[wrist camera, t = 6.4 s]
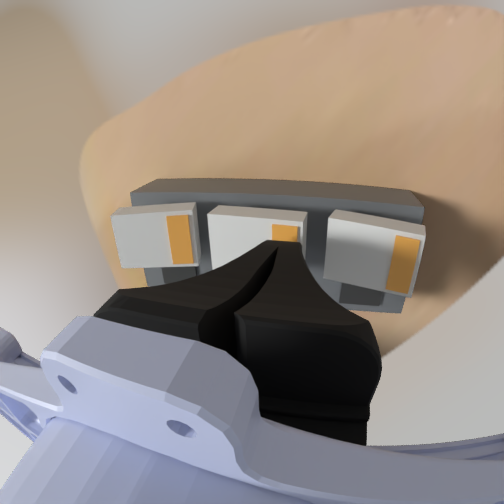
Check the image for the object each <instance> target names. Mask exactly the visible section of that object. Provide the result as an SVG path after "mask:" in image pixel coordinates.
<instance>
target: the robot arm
mask: <svg viewBox="0 0 504 504" xmlns="http://www.w3.org/2000/svg"><path fill="white" fill-rule="evenodd" d="M381 371H382V362H381V355H380V351H379V347H378V344H377V340H376V337H375V334H374V332H373V329H372V326H371V324H370V322H369V321H368V320H366V319H364V318H362V317H360V316H358V315H356V314H354V313H352V312H350V311H349V310H347V309H346V308H344V307H343V306H341V305H340V304H338V303H337V302H336V301H335V300H333V299H332V298H331V297H330V296H329V295H328V294H327V293H326V292H325V291H324V290H323V289H322V288H321V287H320V285H319V284H318V283H317V281H316V280H315V278H314V277H313V275H312V273H311V272H310V270H309V268H308V266H307V264H306V261H305V259H304V256H303V253H302V245H301V243H300V242H291V241H278V240H266V241H264V242H262V243H260V244H259V245H257V246H256V247H254V248H253V249H251V250H249V251H248V252H246V253H244V254H243V255H241V256H239V257H238V258H236V259H234V260H232V261H230V262H228V263H226V264H225V265H223V266H220V267H218V268H216V269H214V270H211V271H209V272H206V273H204V274H201V275H198V276H194V277H191V278H188V279H184V280H181V281H177V282H173V283H168V284H163V285H157V286H151V287H142V288H131V289H119V290H118V291H117V292H116V293H115V294H114V295H113V296H112V297H111V298H110V299H109V300H108V301H107V302H106V303H105V304H104V305H103V306H102V307H101V308H100V309H99V310H98V311H97V312H96V313H95V314H94V316H78V317H76V318H75V319H73V320H72V321H71V322H70V323H69V324H68V325H67V326H66V327H65V328H64V329H63V330H62V331H61V332H60V333H59V334H58V336H56V337H55V338H54V340H53V341H52V342H51V343H50V344H49V345H48V346H47V347H46V348H45V349H44V350H43V352H42V355H41V357H40V361H38V360H37V359H35V358H33V357H31V356H29V355H27V354H26V353H24V352H22V349H21V347H20V345H19V343H18V341H17V340H16V338H15V337H14V336H13V335H12V334H11V333H10V332H8V331H6V330H4V329H3V328H1V327H0V414H1V415H3V416H4V417H5V418H6V419H7V420H8V421H9V422H11V423H12V424H13V425H14V426H15V427H16V428H18V429H19V430H20V431H21V432H22V433H23V434H24V435H26V436H27V437H28V438H29V439H31V440H32V441H33V442H34V443H33V444H32V446H31V447H30V448H29V450H28V451H27V452H26V454H25V455H24V456H23V458H22V459H21V461H20V462H19V464H18V465H17V466H16V468H15V469H14V471H13V472H12V474H11V475H10V476H9V478H8V479H7V481H6V482H5V484H4V485H3V487H2V489H1V490H0V504H504V433H503V434H498V435H493V436H488V437H483V438H476V439H470V440H462V441H454V442H445V443H436V444H424V445H423V444H422V445H404V446H403V445H401V446H366V440H367V421H368V420H369V416H370V402H371V400H372V397H373V395H374V393H375V390H376V388H377V385H378V383H379V380H380V377H381Z"/></svg>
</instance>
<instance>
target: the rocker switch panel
mask: <svg viewBox="0 0 504 504" xmlns="http://www.w3.org/2000/svg"><path fill="white" fill-rule="evenodd" d="M130 196H131V202H132V207H133V206H145V205H159V204H173V203H188V202H196V207H197V217H198V227H199V237H200V246H201V258H200V262H199V266H187V267H152V268H144V272H145V276H146V281H147V285H148V286H157V285H163V284H168V283H173V282H177V281H181V280H184V279H188V278H191V277H194V276H198V275H201V274H204V273H206V272H209V271H211V270H212V260H211V250H210V239H209V229H208V217H207V214H208V213H209V212H210V211H212V210H213V209H214V208H216V207H217V206H218V205H224V206H239V207H254V208H267V209H279V210H291V211H303V212H308V213H307V236H306V256H305V261H306V264H307V266H308V268H309V270H310V272H311V273H312V275H313V277H314V278H315V280H316V281H317V283H318V284H319V285H320V287H321V288H322V289H323V290H324V291H325V292H326V293H327V294H328V295H329V296H330V297H331V298H332V299H333V300H335V301H336V302H337V303H338V304H340V305H341V306H343V307H344V308H346V309H347V310H357V311H371V312H386V313H401V312H402V308H403V305H404V301H405V296H401V295H396V294H392V293H387V292H383V291H378V290H374V289H369V288H365V287H360V286H356V285H352V284H347V283H343V282H338V281H334V280H329V279H325V278H323V276H324V265H325V254H326V242H327V229H328V217H329V216H330V215H331V214H332V213H333V212H334V210H335V209H337V210H344V211H350V212H355V213H361V214H367V215H373V216H378V217H383V218H389V219H394V220H399V221H404V222H410V223H415V224H420V225H422V220H423V214H424V208H425V207H424V206H423V205H422V204H421V203H420V202H419V200H418V199H417V198H416V197H415V196H414V195H413V194H412V192H411V191H410V190H402V189H393V188H384V187H374V186H363V185H351V184H339V183H325V182H309V181H291V180H266V179H217V178H195V179H156V180H154V181H152V182H150V183H148V184H146V185H144V186H142V187H140V188H138V189H136V190H134V191H132V192H130Z"/></svg>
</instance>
